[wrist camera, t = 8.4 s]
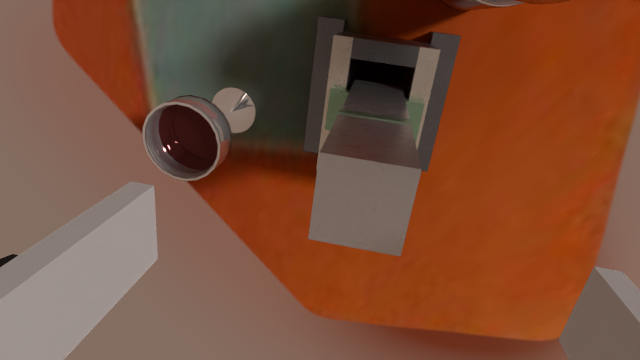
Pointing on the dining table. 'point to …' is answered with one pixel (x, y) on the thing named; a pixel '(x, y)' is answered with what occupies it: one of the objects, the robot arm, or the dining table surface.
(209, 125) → the wineglass
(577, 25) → the dining table surface
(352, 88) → the column
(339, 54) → the sleeve
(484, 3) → the water bottle
